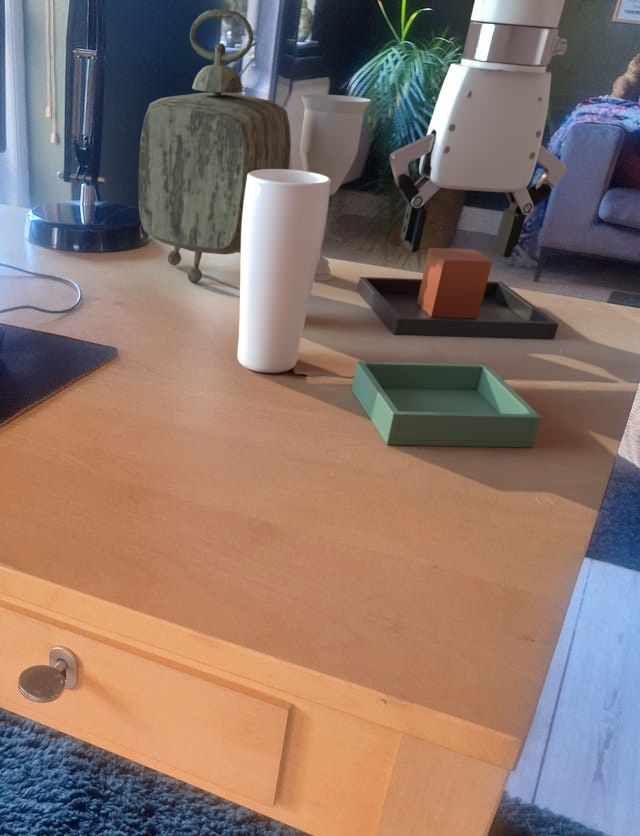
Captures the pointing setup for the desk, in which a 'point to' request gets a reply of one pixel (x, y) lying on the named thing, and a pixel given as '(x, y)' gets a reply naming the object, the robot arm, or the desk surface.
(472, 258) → the block
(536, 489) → the desk surface
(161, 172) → the tabletop clock
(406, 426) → the tray
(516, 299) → the pan
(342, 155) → the chalice
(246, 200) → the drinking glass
